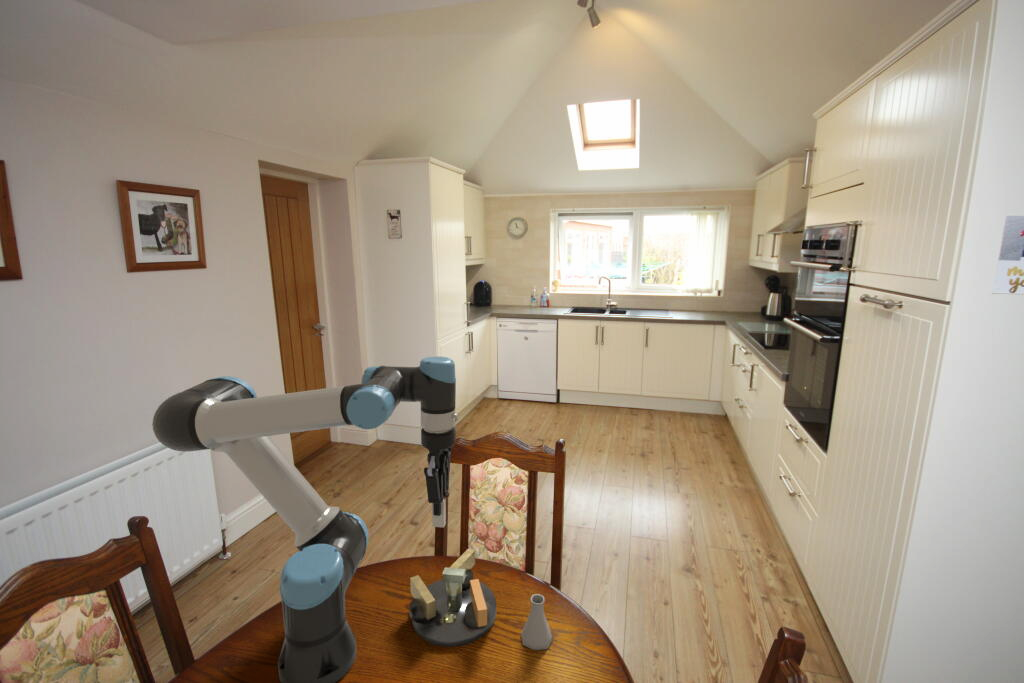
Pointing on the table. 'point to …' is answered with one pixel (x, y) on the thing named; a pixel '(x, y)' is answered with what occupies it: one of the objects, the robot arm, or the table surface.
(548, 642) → the flask
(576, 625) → the table surface
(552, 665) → the table surface
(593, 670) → the table surface
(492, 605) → the round disc fixture
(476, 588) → the orange rectangular block
